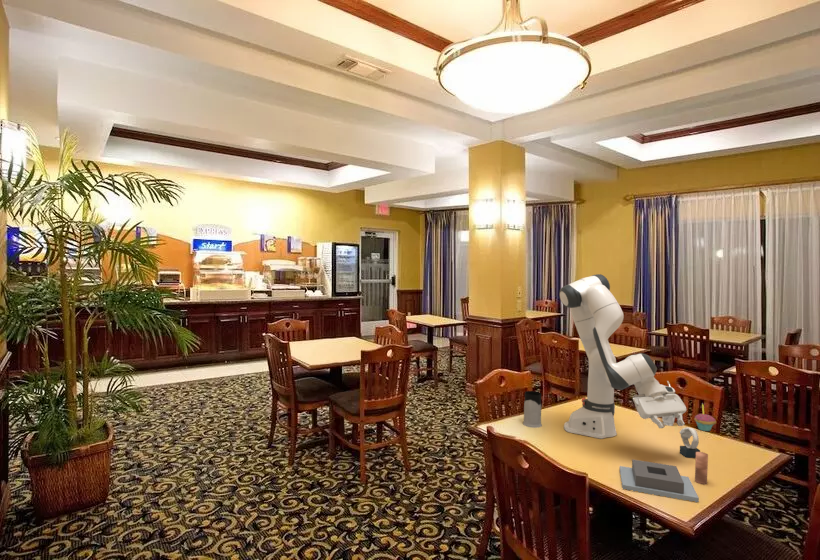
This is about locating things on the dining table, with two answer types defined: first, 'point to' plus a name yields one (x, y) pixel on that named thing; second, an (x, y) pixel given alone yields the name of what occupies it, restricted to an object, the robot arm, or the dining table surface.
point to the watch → (688, 449)
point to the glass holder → (532, 409)
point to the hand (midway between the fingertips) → (672, 426)
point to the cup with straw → (668, 417)
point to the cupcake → (704, 421)
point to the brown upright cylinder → (701, 468)
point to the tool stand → (657, 480)
